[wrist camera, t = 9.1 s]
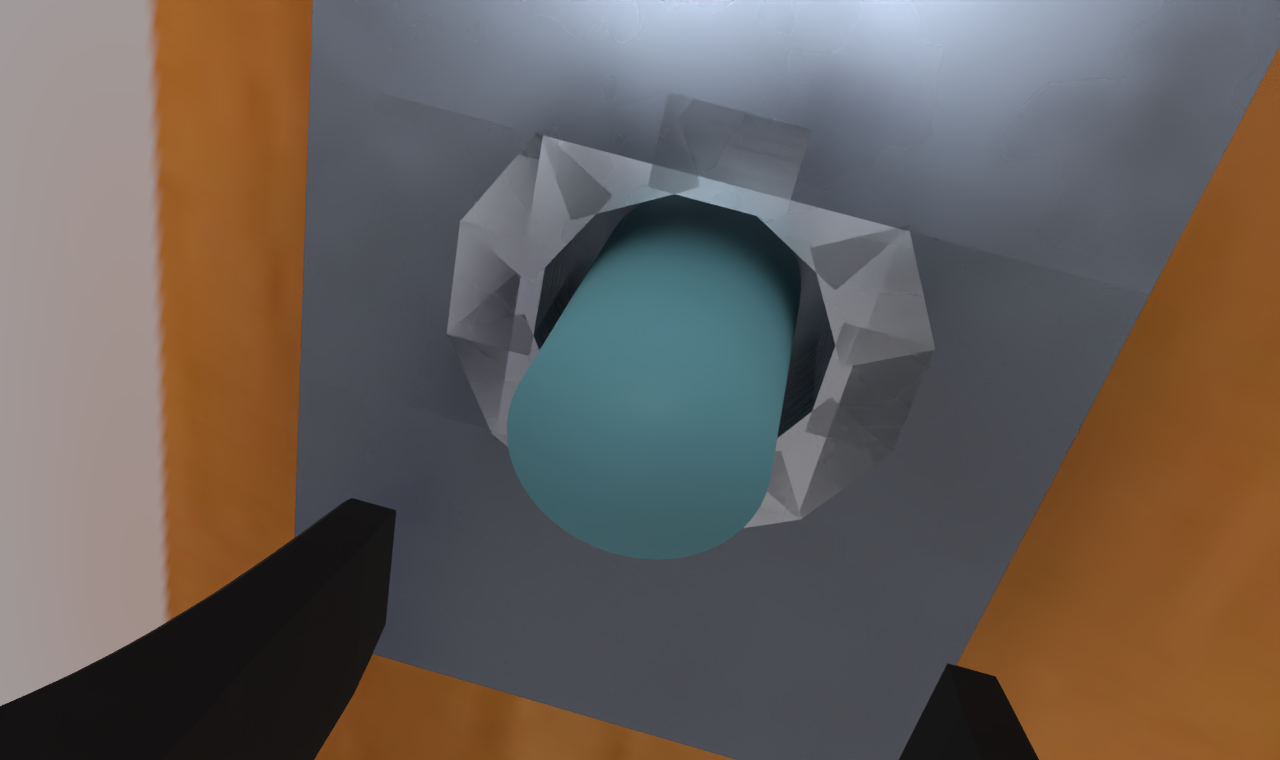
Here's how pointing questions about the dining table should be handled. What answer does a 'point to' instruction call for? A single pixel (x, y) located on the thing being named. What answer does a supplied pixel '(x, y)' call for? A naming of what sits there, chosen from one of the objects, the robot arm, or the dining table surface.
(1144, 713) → the dining table surface
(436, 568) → the bore block
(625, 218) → the teal dowel
